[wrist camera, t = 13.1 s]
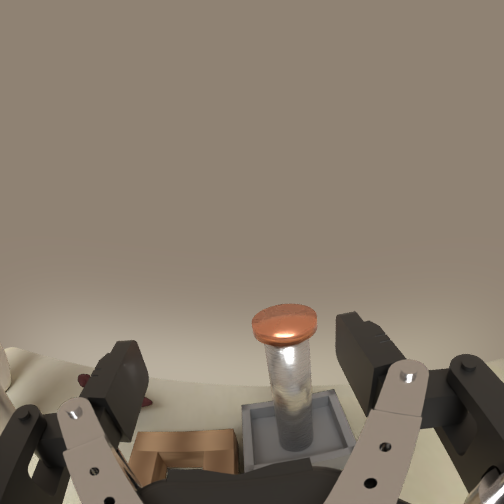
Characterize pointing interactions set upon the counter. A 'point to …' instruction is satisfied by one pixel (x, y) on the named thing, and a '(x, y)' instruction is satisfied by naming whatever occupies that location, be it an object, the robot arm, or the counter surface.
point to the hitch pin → (289, 369)
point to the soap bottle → (4, 370)
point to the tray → (324, 435)
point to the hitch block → (183, 453)
